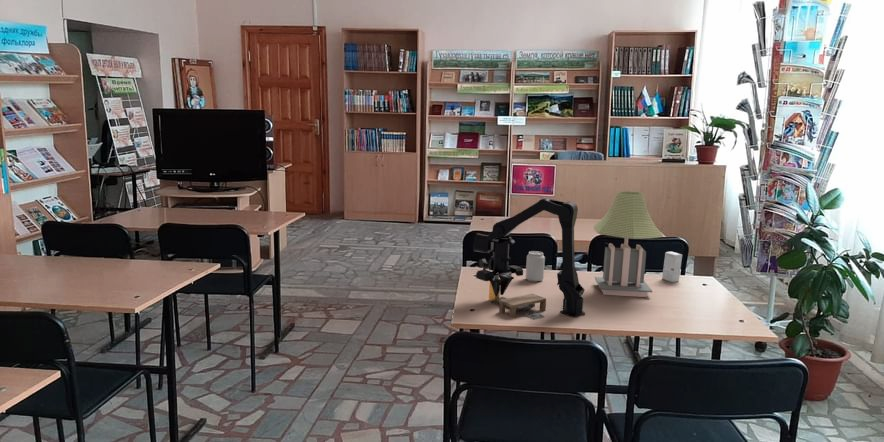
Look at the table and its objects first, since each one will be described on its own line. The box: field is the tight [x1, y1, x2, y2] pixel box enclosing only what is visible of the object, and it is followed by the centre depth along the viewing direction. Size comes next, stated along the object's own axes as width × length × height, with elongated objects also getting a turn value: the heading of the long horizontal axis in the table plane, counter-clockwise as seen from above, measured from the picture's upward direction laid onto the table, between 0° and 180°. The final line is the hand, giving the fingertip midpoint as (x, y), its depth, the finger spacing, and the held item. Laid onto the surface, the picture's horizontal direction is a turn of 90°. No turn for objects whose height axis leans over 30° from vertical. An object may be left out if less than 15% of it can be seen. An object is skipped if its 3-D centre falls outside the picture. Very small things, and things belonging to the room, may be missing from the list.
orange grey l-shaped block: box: [488, 281, 532, 312], centre depth 234 cm, size 16×6×8 cm, turn 44°
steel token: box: [523, 311, 546, 320], centre depth 223 cm, size 5×5×1 cm
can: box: [525, 250, 546, 283], centre depth 270 cm, size 8×8×12 cm
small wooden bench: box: [498, 293, 547, 319], centre depth 227 cm, size 7×16×4 cm, turn 126°
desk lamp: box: [593, 190, 663, 298], centre depth 255 cm, size 26×28×40 cm
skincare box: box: [661, 251, 683, 283], centre depth 277 cm, size 6×4×12 cm
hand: (498, 295), depth 237 cm, fingers closed on orange grey l-shaped block, 2 cm apart
